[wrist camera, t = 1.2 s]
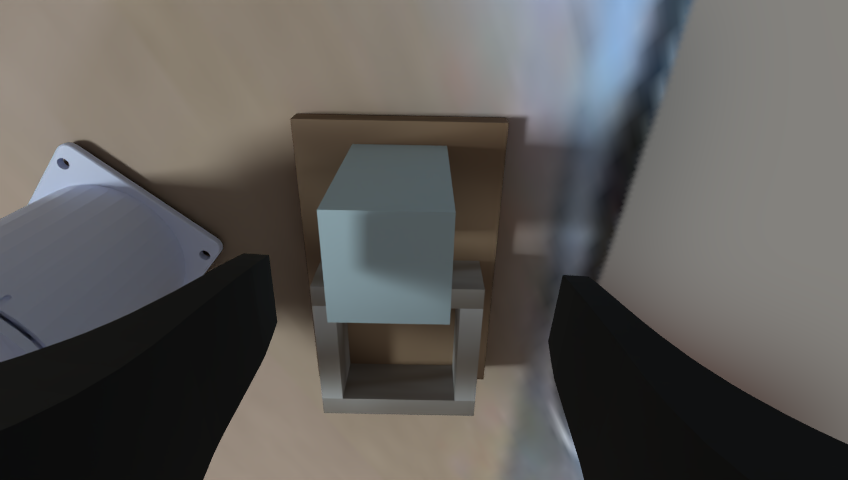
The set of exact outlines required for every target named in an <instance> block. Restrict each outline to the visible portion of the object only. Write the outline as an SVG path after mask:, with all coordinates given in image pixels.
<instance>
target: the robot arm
mask: <svg viewBox="0 0 848 480" xmlns="http://www.w3.org/2000/svg"><path fill="white" fill-rule="evenodd" d="M63 159H66V160H67V161H68V163H69V166H67V165H66V164H65V163H64V161H63ZM222 249H223V244H222V242H221V241H220V240H219V239H218V238H217V237H215V236H214V235H212V234H211V233H209V232H208V231H206V230H205V229H203V228H202V227H200V226H199V225H197V224H196V223H194V222H193V221H191V220H190V219H188V218H187V217H185V216H184V215H182V214H181V213H179V212H178V211H176V210H175V209H173V208H172V207H170V206H169V205H167V204H166V203H164V202H163V201H161V200H160V199H158V198H157V197H155V196H154V195H152V194H151V193H149V192H148V191H146V190H145V189H143V188H142V187H140V186H138V185H137V184H135V183H134V182H132V181H131V180H129V179H128V178H126V177H125V176H123V175H122V174H120V173H119V172H117V171H116V170H114V169H113V168H111V167H110V166H108V165H107V164H105V163H104V162H102V161H101V160H99V159H98V158H96V157H95V156H93V155H92V154H90V153H89V152H87V151H86V150H84V149H83V148H81V147H80V146H78V145H77V144H74V143H71V142H67V143H64V144H61V145H59V146H58V147H57V149H56V151H55V153H54V155H53V157H52V159H51V161H50V163H49V165H48V167H47V168H46V170H45V172H44V174H43V176H42V178H41V180H40V182H39V184H38V186H37V188H36V190H35V192H34V194H33V196H32V198H31V200H30V201H29V203H28V205H27V206H25V207H23V208H21V209H19V210H17V211H15V212H13V213H11V214H9V215H7V216H5V217H3V218H1V219H0V480H203V479H204V476H205V474H206V471H207V469H208V467H209V464H210V462H211V459H212V457H213V454H214V452H215V450H216V448H217V446H218V444H219V442H220V440H221V438H222V436H223V434H224V432H225V430H226V428H227V426H228V425H229V423H230V421H231V419H232V417H233V415H234V413H235V412H236V410H237V408H238V406H239V404H240V402H241V400H242V399H243V397H244V395H245V393H246V391H247V389H248V387H249V386H250V384H251V382H252V380H253V378H254V376H255V374H256V372H257V371H258V369H259V367H260V365H261V363H262V361H263V359H264V357H265V355H266V352H267V349H268V347H269V344H270V341H271V339H272V336H273V333H274V330H275V327H276V324H277V316H276V308H275V300H274V292H273V284H272V276H271V269H270V261H269V255H259V254H242V255H240V256H238V257H236V258H234V259H232V260H230V261H228V262H226V263H224V264H222V265H220V266H219V267H217V268H215V269H213V270H211V271H210V272H208V273H206V274H205V272H206V271H207V270H208V268H209V267H210V266H211V264H212V263H213V262H214V261H215V259H216V258H217V257H218V255H219V254H220V253H221V251H222ZM203 251H207V252H208V253H209V254H210V256H207V255H205V254H204V253H203ZM548 343H549V349H550V356H551V363H552V369H553V374H554V379H555V383H556V386H557V390H558V393H559V396H560V400H561V403H562V406H563V410H564V413H565V416H566V419H567V423H568V426H569V429H570V432H571V436H572V439H573V442H574V445H575V449H576V452H577V455H578V458H579V462H580V465H581V469H582V473H583V477H584V480H848V444H845V443H844V442H842V441H839V440H837V439H835V438H833V437H831V436H829V435H826V434H824V433H822V432H820V431H818V430H816V429H814V428H811V427H810V426H808V425H806V424H804V423H802V422H800V421H798V420H796V419H794V418H792V417H790V416H788V415H786V414H784V413H782V412H780V411H779V410H777V409H775V408H773V407H771V406H769V405H768V404H765V403H764V402H762V401H760V400H758V399H756V398H755V397H753V396H751V395H749V394H747V393H746V392H744V391H742V390H741V389H739V388H737V387H736V386H734V385H732V384H730V383H729V382H727V381H726V380H724V379H723V378H721V377H719V376H718V375H716V374H714V373H713V372H712V371H710V370H708V369H707V368H705V367H704V366H702V365H701V364H699V363H697V362H696V361H695V360H693V359H692V358H690V357H689V356H687V355H686V354H685V353H683V352H682V351H680V350H679V349H678V348H677V347H675V346H674V345H672V344H671V343H670V342H668V341H667V340H665V339H664V338H663V337H662V336H660V335H659V334H658V333H657V332H655V331H654V330H653V329H651V328H650V327H649V326H648V325H646V324H645V323H644V322H642V321H641V320H640V319H639V318H638V317H636V316H635V315H634V314H633V313H632V312H631V311H629V310H628V309H627V308H626V307H625V306H623V305H622V304H621V303H620V302H619V301H618V300H616V299H615V298H614V297H613V296H612V295H610V294H609V293H608V292H607V291H606V290H604V289H603V288H602V287H601V286H600V285H599V284H597V283H596V282H595V281H594V280H592V279H591V278H589V277H586V276H571V275H563V277H562V281H561V286H560V290H559V295H558V300H557V304H556V309H555V313H554V318H553V322H552V327H551V331H550V336H549V340H548Z"/></svg>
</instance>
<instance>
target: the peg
mask: <svg viewBox="0 0 848 480" xmlns="http://www.w3.org/2000/svg"><path fill="white" fill-rule="evenodd" d="M455 216H456V211H455V203H454V196H453V188H452V180H451V173H450V165H449V157H448V149H447V146H431V145H378V144H352V145H351V147H350V149H349V151H348V153H347V155H346V157H345V158H344V160H343V162H342V164H341V166H340V168H339V169H338V171H337V173H336V175H335V177H334V179H333V181H332V182H331V184H330V186H329V188H328V190H327V192H326V194H325V195H324V197H323V199H322V201H321V203H320V205H319V207H318V208H317V217H318V228H319V238H320V249H321V259H322V270H323V280H324V291H325V301H326V312H327V322H337V323H390V324H444V325H450V312H451V293H452V273H453V254H454V235H455Z"/></svg>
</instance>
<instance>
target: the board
mask: <svg viewBox="0 0 848 480" xmlns="http://www.w3.org/2000/svg"><path fill="white" fill-rule="evenodd" d="M290 120H291V129H292V138H293V147H294V156H295V164H296V173H297V182H298V191H299V200H300V209H301V218H302V226H303V235H304V244H305V253H306V262H307V271H308V280H309V289H310V297H311V306H312V315H313V324H314V333H315V342H316V351H317V359H318V368H319V376H320V382H321V390H322V399H323V408H324V413H355V414H408V415H461V416H474V405H475V394H476V383H477V379H483V378H484V367H485V357H486V347H487V337H488V327H489V317H490V307H491V297H492V287H493V276H494V266H495V256H496V246H497V236H498V226H499V216H500V206H501V195H502V185H503V175H504V165H505V155H506V145H507V135H508V125H509V123H508V121H507V120H506V118H496V117H443V116H390V115H336V114H296V115H294V116H293V117H292V118H291V119H290ZM352 144H378V145H431V146H447V149H448V157H449V165H450V173H451V180H452V188H453V196H454V203H455V211H456V216H455V235H454V254H453V273H452V293H451V312H450V325H444V324H390V323H337V322H327V312H326V301H325V291H324V280H323V270H322V259H321V249H320V238H319V228H318V217H317V208H318V207H319V205H320V203H321V201H322V199H323V197H324V195H325V194H326V192H327V190H328V188H329V186H330V184H331V182H332V181H333V179H334V177H335V175H336V173H337V171H338V169H339V168H340V166H341V164H342V162H343V160H344V158H345V157H346V155H347V153H348V151H349V149H350V147H351V145H352Z"/></svg>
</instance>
